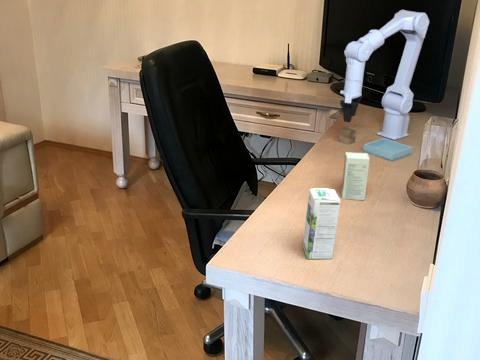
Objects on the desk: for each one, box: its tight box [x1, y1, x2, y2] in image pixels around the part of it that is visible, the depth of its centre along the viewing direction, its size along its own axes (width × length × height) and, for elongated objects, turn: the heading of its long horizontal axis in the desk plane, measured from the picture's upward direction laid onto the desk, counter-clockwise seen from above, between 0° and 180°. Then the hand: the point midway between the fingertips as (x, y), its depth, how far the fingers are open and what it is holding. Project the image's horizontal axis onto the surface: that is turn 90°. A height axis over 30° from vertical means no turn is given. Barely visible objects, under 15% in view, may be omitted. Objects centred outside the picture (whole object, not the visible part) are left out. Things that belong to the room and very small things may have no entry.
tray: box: [362, 137, 414, 162], centre depth 178 cm, size 12×12×2 cm
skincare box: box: [340, 151, 371, 201], centre depth 142 cm, size 6×4×12 cm
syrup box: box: [302, 187, 341, 260], centre depth 114 cm, size 6×6×14 cm
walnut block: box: [338, 125, 357, 145], centre depth 185 cm, size 4×4×5 cm
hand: (349, 118), depth 180 cm, fingers open, 7 cm apart
